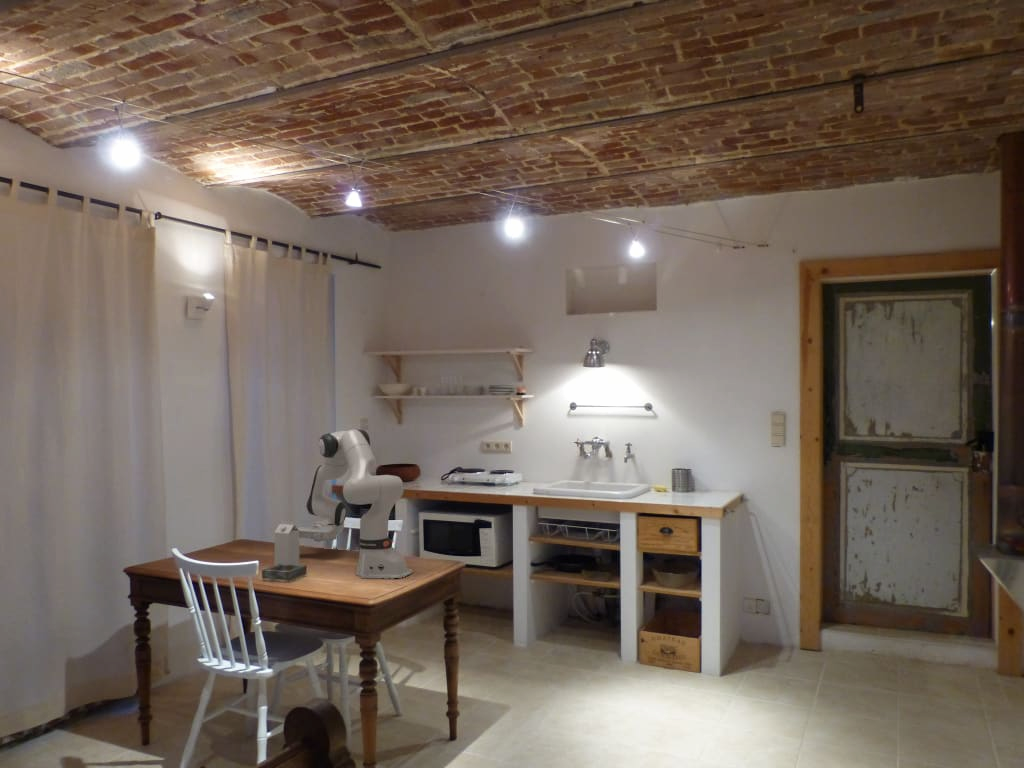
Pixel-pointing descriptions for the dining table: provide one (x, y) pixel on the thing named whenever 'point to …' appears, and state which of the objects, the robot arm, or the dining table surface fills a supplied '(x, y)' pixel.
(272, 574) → the square glass ashtray
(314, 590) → the dining table surface
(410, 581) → the dining table surface
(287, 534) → the milk carton
